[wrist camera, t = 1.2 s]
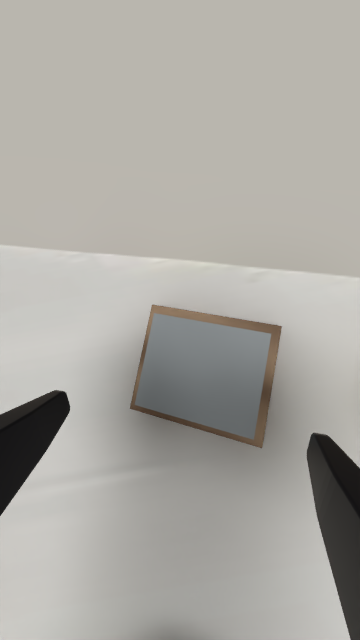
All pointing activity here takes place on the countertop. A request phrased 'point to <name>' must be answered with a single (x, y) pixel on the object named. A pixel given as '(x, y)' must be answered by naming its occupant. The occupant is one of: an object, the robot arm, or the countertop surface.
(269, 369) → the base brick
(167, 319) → the top brick
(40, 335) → the countertop surface
